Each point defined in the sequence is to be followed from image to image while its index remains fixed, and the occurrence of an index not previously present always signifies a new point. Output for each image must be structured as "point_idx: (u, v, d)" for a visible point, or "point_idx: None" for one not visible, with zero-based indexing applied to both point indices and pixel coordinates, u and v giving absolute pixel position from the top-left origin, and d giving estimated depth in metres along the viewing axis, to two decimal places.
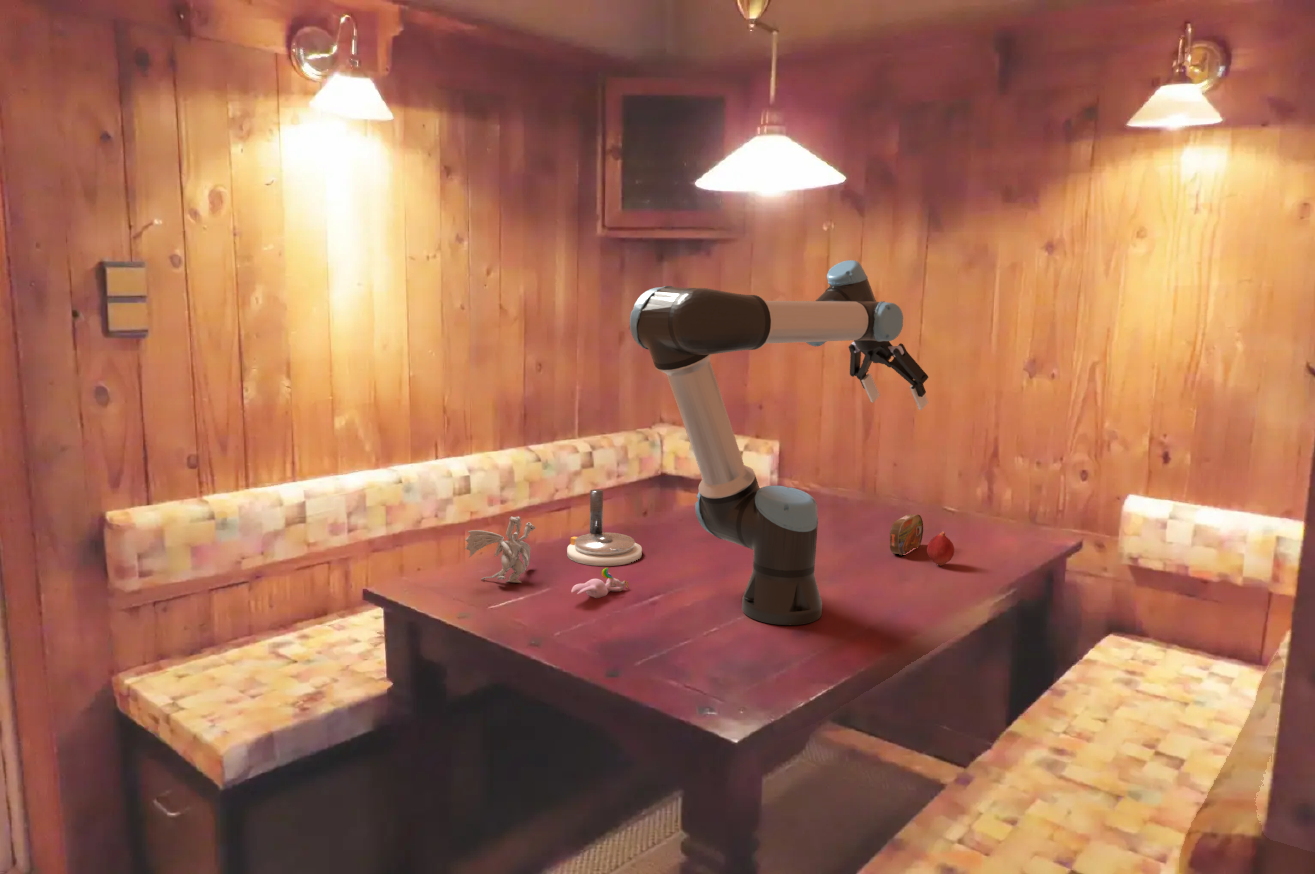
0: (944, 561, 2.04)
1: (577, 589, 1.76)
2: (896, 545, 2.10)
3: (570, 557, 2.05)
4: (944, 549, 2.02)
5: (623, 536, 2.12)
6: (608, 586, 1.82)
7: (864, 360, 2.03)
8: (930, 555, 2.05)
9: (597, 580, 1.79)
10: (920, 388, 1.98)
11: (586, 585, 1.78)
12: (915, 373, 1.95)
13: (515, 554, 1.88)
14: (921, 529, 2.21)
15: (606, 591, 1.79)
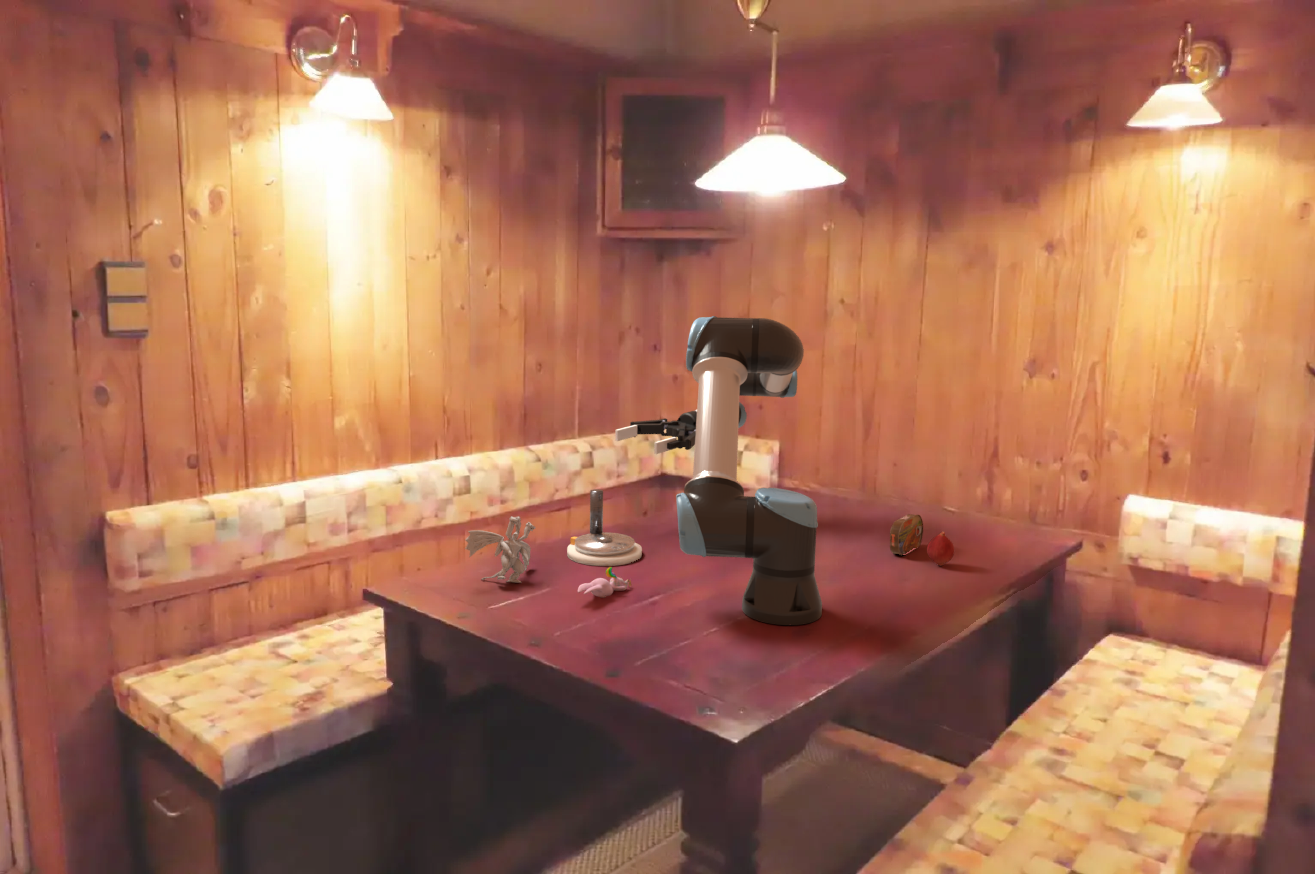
0: (944, 561, 2.04)
1: (583, 589, 1.76)
2: (896, 545, 2.10)
3: (570, 557, 2.05)
4: (944, 549, 2.03)
5: (623, 536, 2.12)
6: (612, 585, 1.82)
7: (665, 421, 2.26)
8: (930, 555, 2.05)
9: (602, 579, 1.80)
10: (677, 443, 2.14)
11: (591, 585, 1.79)
12: (692, 438, 2.16)
13: (515, 554, 1.88)
14: (921, 529, 2.21)
15: (611, 590, 1.79)
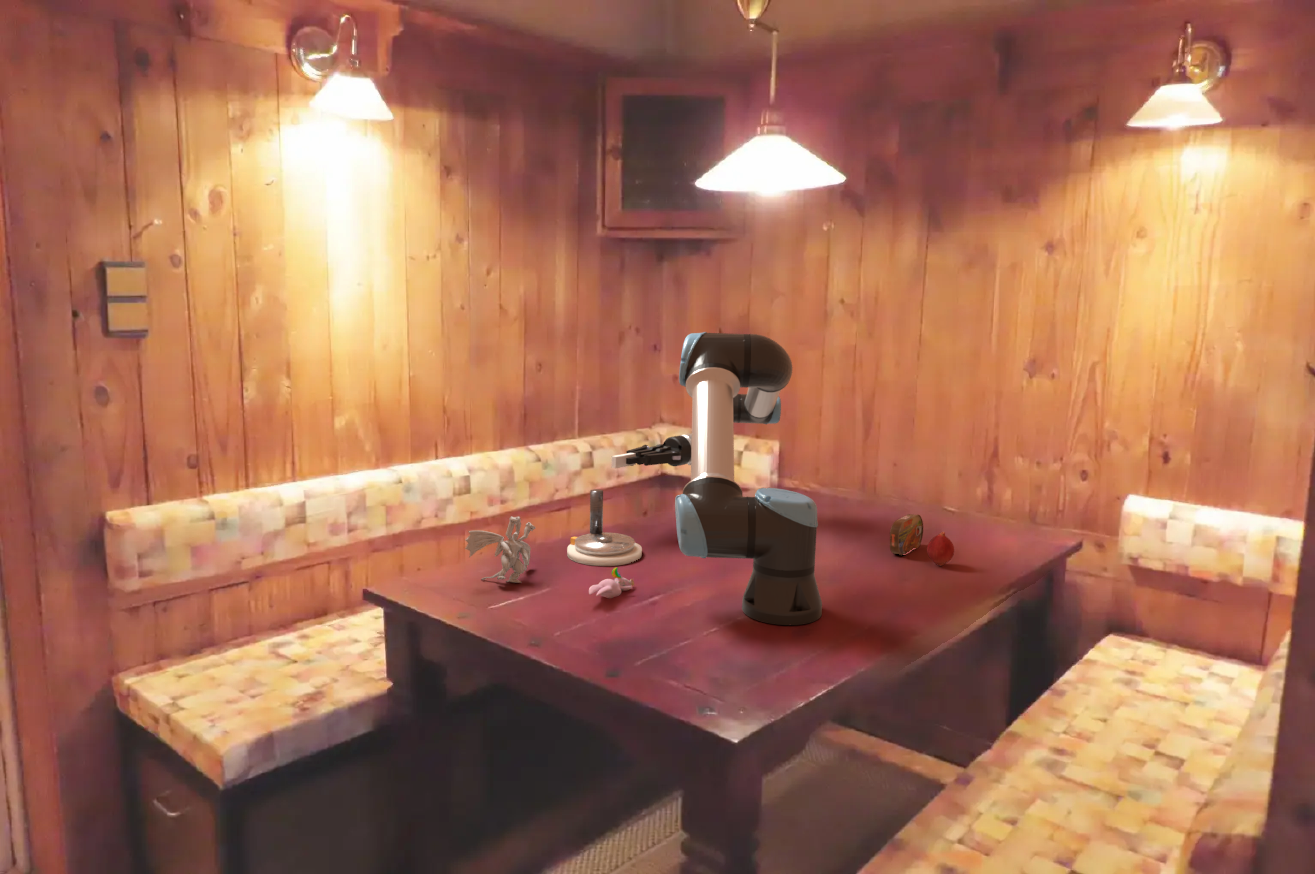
0: (944, 561, 2.04)
1: (594, 590, 1.76)
2: (896, 544, 2.10)
3: (570, 557, 2.05)
4: (944, 549, 2.03)
5: (623, 536, 2.12)
6: (619, 585, 1.82)
7: (653, 446, 2.26)
8: (930, 555, 2.05)
9: (610, 580, 1.79)
10: (636, 458, 2.18)
11: (601, 586, 1.78)
12: (656, 456, 2.19)
13: (515, 554, 1.88)
14: (921, 529, 2.21)
15: (620, 591, 1.79)
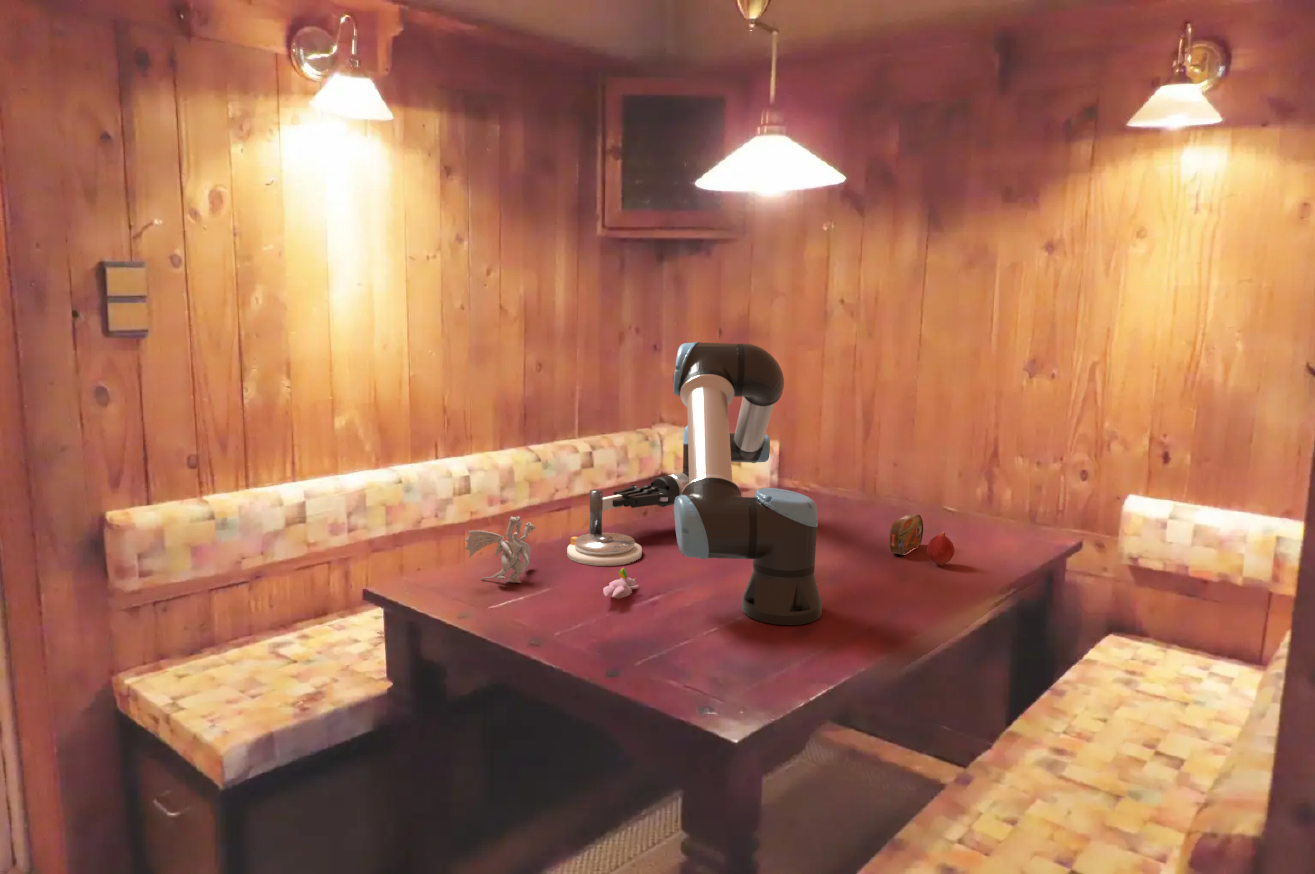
0: (944, 561, 2.04)
1: (609, 592, 1.75)
2: (896, 545, 2.10)
3: (570, 557, 2.05)
4: (944, 549, 2.02)
5: (623, 536, 2.12)
6: None
7: (640, 487, 2.25)
8: (930, 555, 2.05)
9: (621, 581, 1.79)
10: (622, 500, 2.17)
11: (613, 587, 1.78)
12: (642, 498, 2.18)
13: (515, 554, 1.88)
14: (921, 529, 2.21)
15: (631, 590, 1.80)
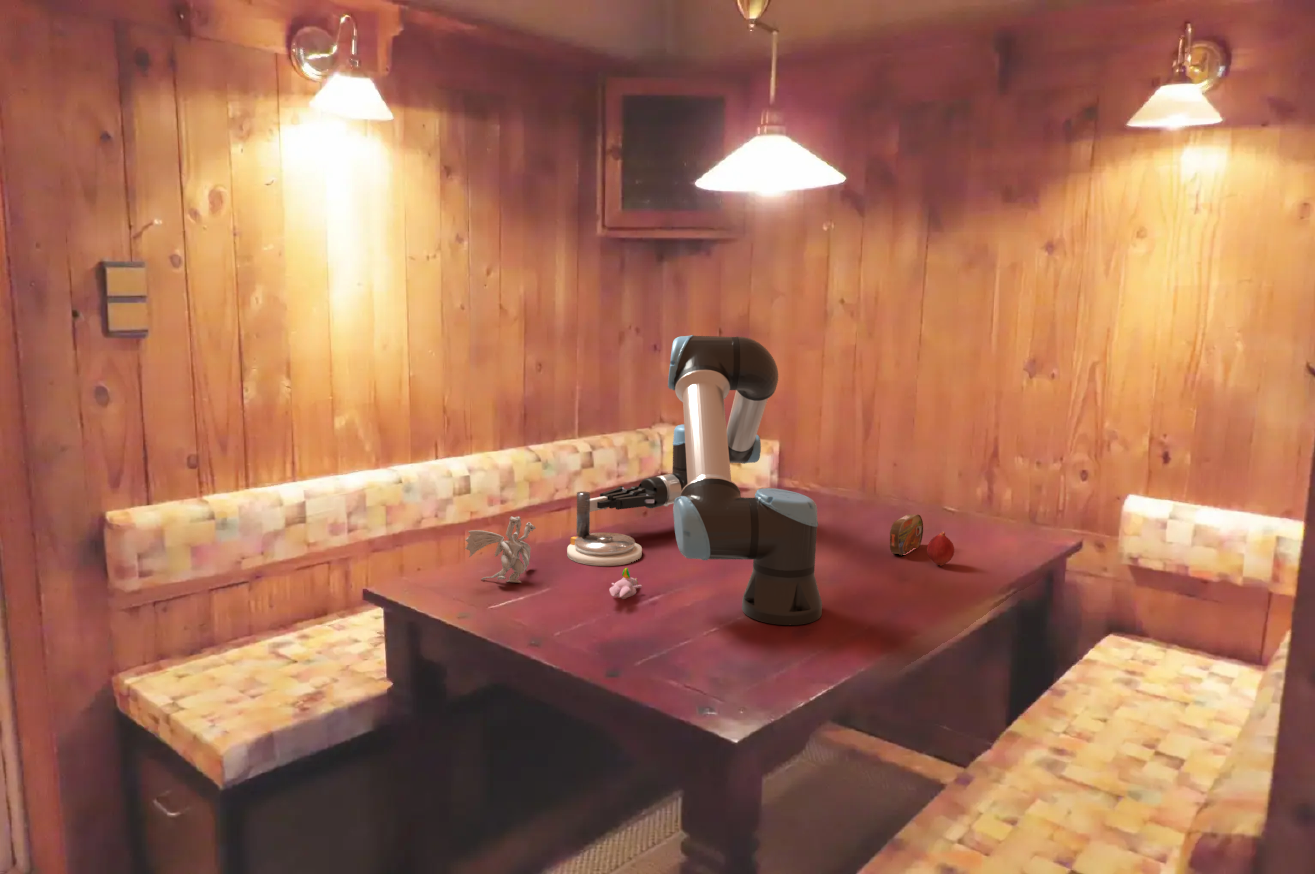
0: (944, 561, 2.04)
1: (616, 592, 1.75)
2: (896, 545, 2.10)
3: (570, 557, 2.05)
4: (944, 549, 2.02)
5: (610, 534, 2.14)
6: None
7: None
8: (930, 555, 2.05)
9: (626, 581, 1.79)
10: (607, 502, 2.14)
11: (618, 587, 1.77)
12: (628, 499, 2.16)
13: (515, 554, 1.88)
14: (921, 529, 2.21)
15: (635, 590, 1.80)
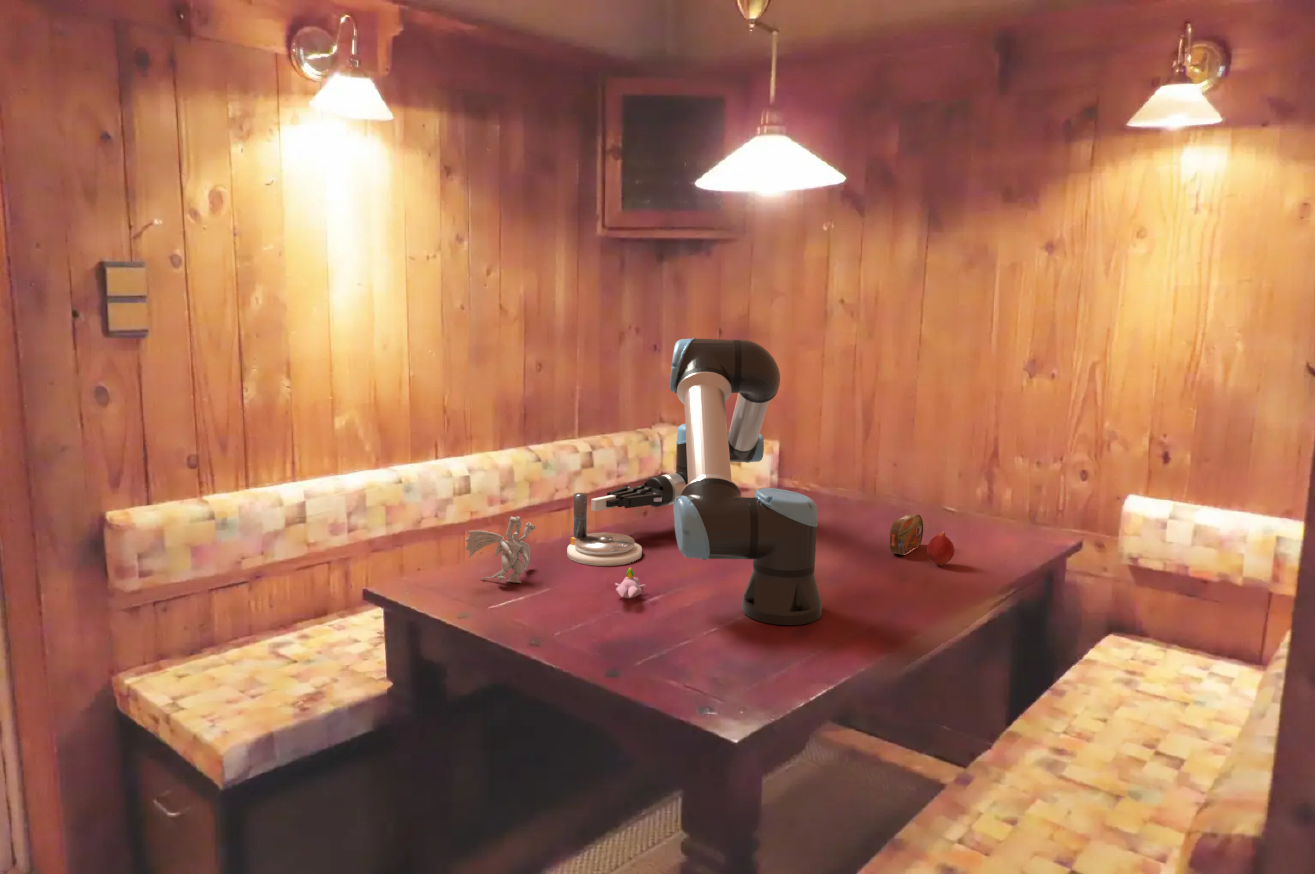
0: (944, 561, 2.04)
1: (624, 592, 1.75)
2: (896, 545, 2.10)
3: (570, 557, 2.05)
4: (944, 549, 2.03)
5: (605, 533, 2.14)
6: None
7: (634, 487, 2.23)
8: (930, 555, 2.05)
9: (632, 581, 1.79)
10: (616, 501, 2.15)
11: (625, 587, 1.77)
12: (636, 498, 2.16)
13: (515, 554, 1.88)
14: (921, 529, 2.21)
15: (641, 590, 1.80)
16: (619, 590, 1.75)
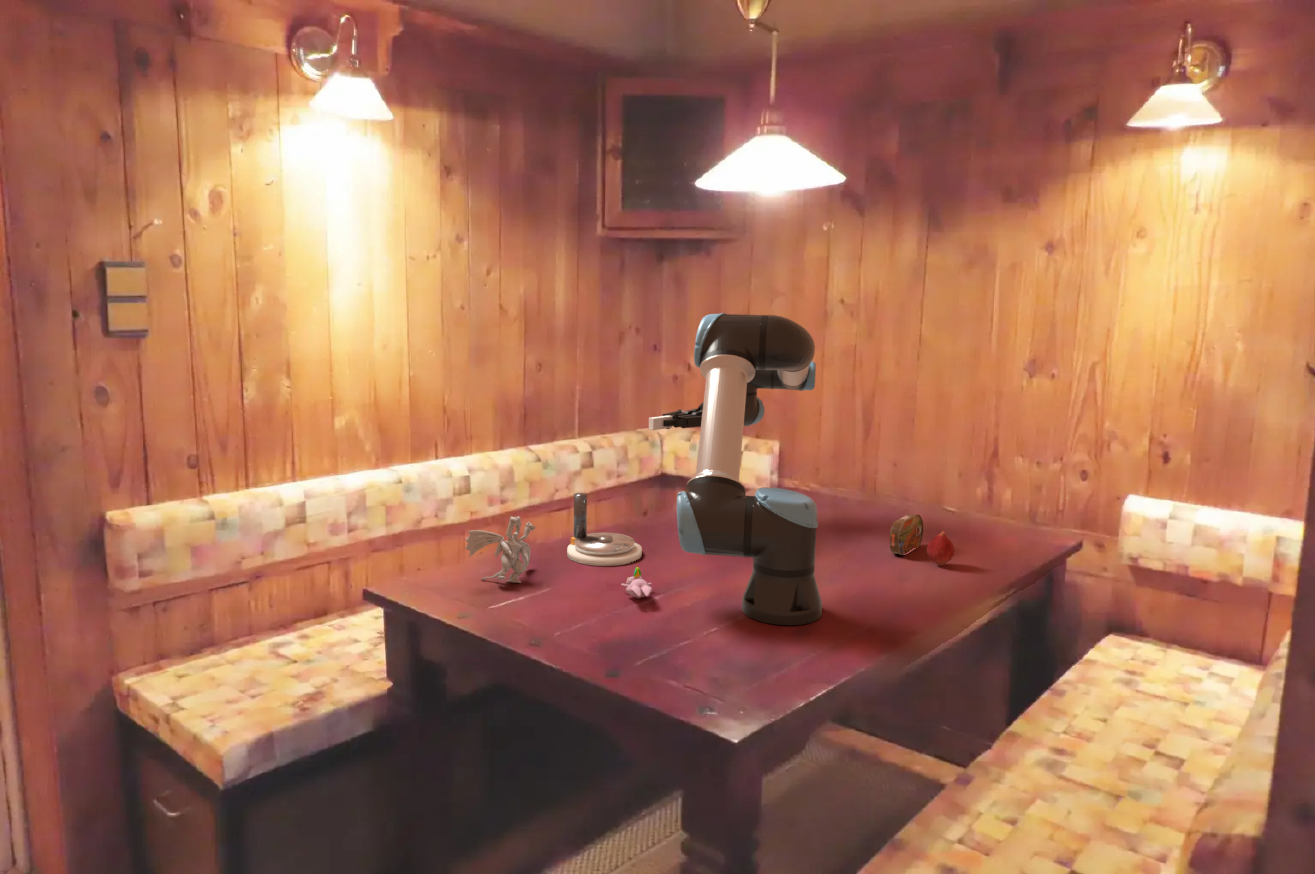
0: (944, 561, 2.04)
1: (640, 592, 1.75)
2: (896, 545, 2.10)
3: (570, 557, 2.05)
4: (944, 549, 2.02)
5: (605, 533, 2.14)
6: None
7: (688, 410, 2.22)
8: (930, 555, 2.05)
9: (642, 580, 1.80)
10: (673, 421, 2.14)
11: (638, 587, 1.78)
12: (693, 418, 2.15)
13: (515, 554, 1.88)
14: (921, 529, 2.21)
15: None
16: (635, 590, 1.75)
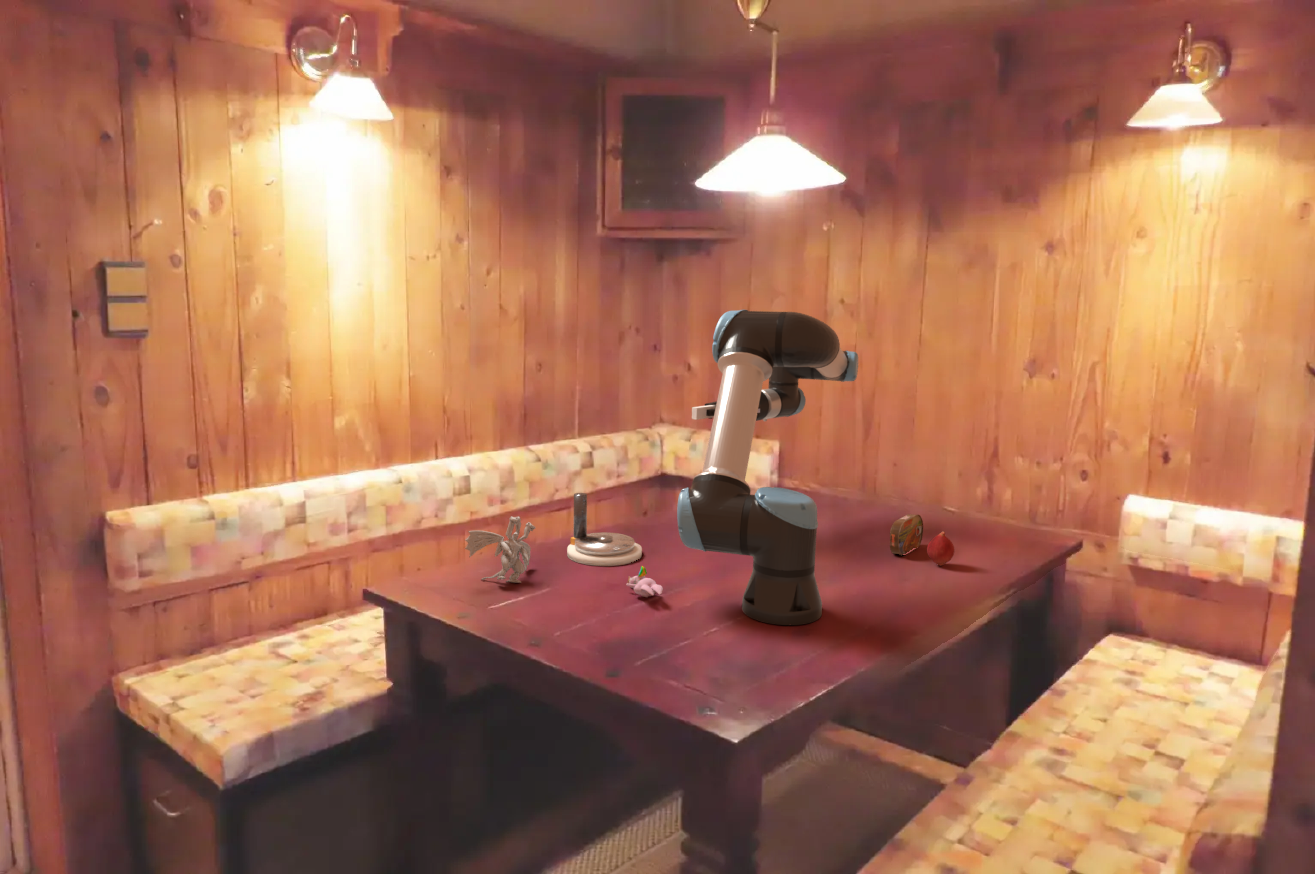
0: (944, 561, 2.04)
1: (652, 591, 1.76)
2: (896, 545, 2.10)
3: (570, 557, 2.05)
4: (944, 549, 2.03)
5: (605, 533, 2.14)
6: None
7: None
8: (930, 555, 2.05)
9: None
10: None
11: (648, 586, 1.79)
12: None
13: (515, 554, 1.88)
14: (921, 529, 2.21)
15: None
16: (647, 589, 1.76)
